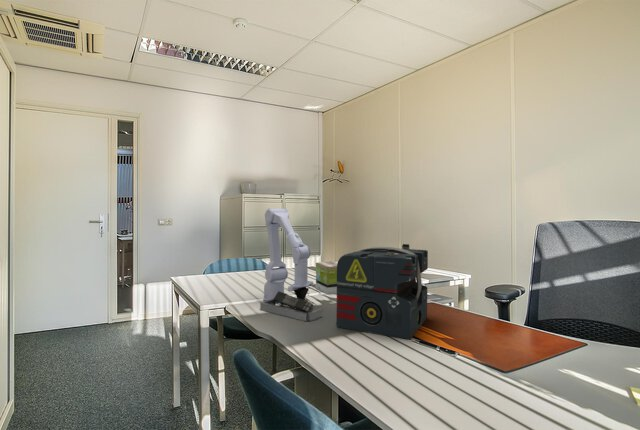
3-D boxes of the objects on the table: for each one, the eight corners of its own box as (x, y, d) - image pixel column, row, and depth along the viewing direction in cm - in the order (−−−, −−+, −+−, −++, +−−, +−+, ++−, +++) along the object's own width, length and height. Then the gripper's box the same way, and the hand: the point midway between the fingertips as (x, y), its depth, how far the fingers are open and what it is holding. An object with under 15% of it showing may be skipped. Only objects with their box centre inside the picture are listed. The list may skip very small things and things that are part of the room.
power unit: (335, 327, 135) (336, 247, 134) (362, 309, 159) (363, 241, 159) (410, 340, 122) (411, 251, 121) (427, 318, 146) (428, 244, 145)
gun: (283, 298, 167) (276, 287, 160) (319, 313, 157) (312, 302, 150) (278, 306, 165) (270, 295, 158) (314, 322, 154) (307, 312, 147)
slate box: (258, 309, 158) (258, 302, 158) (273, 305, 165) (273, 298, 165) (308, 322, 141) (308, 314, 140) (322, 316, 148) (322, 309, 148)
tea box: (315, 288, 198) (315, 262, 198) (331, 287, 203) (331, 260, 202) (327, 294, 185) (327, 266, 185) (344, 293, 189) (344, 264, 189)
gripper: (297, 277, 150) (296, 309, 150) (318, 272, 162) (318, 302, 162) (284, 275, 154) (284, 307, 155) (306, 270, 166) (306, 300, 166)
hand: (300, 304), depth 158 cm, fingers closed
